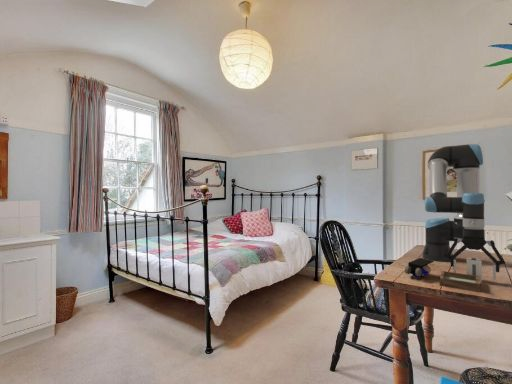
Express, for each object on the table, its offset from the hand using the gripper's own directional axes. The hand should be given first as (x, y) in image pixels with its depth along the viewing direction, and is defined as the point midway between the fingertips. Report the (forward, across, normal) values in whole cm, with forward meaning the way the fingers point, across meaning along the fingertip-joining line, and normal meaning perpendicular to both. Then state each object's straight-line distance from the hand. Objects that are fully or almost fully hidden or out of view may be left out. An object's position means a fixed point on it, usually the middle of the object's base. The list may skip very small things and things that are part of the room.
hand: (474, 276), depth 121 cm
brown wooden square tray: (+2, -5, -10) cm, 11 cm away
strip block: (+2, 0, 0) cm, 2 cm away
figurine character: (+2, -20, -7) cm, 21 cm away
